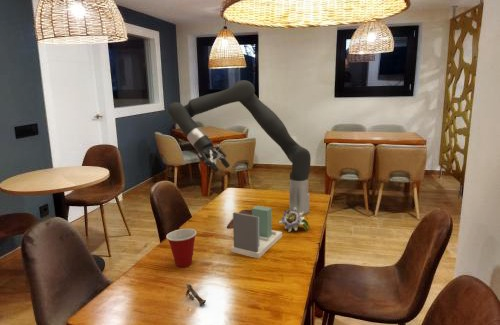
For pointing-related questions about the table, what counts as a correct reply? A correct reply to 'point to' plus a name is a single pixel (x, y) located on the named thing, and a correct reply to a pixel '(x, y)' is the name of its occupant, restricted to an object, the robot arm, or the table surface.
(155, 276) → the table surface
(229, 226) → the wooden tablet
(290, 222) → the passion flower
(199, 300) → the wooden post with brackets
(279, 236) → the book rack
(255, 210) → the green book
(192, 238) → the plastic cup
